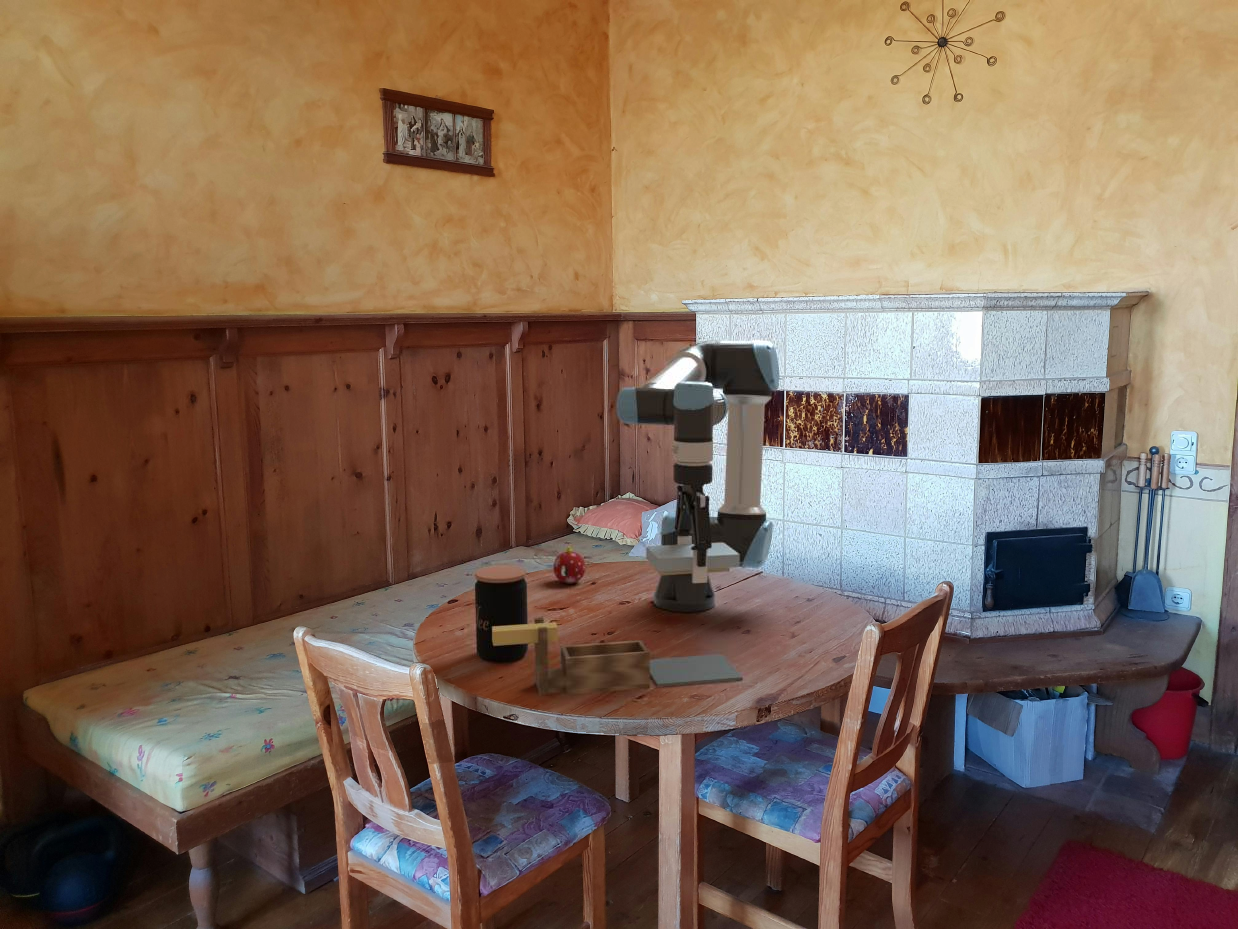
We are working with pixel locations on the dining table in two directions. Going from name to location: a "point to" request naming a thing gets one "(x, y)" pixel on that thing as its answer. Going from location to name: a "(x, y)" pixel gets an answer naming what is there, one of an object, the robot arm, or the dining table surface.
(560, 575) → the christmas ornament
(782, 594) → the dining table surface
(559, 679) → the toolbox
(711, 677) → the mat
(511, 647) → the coffee jar
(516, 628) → the yellow block
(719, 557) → the lid
